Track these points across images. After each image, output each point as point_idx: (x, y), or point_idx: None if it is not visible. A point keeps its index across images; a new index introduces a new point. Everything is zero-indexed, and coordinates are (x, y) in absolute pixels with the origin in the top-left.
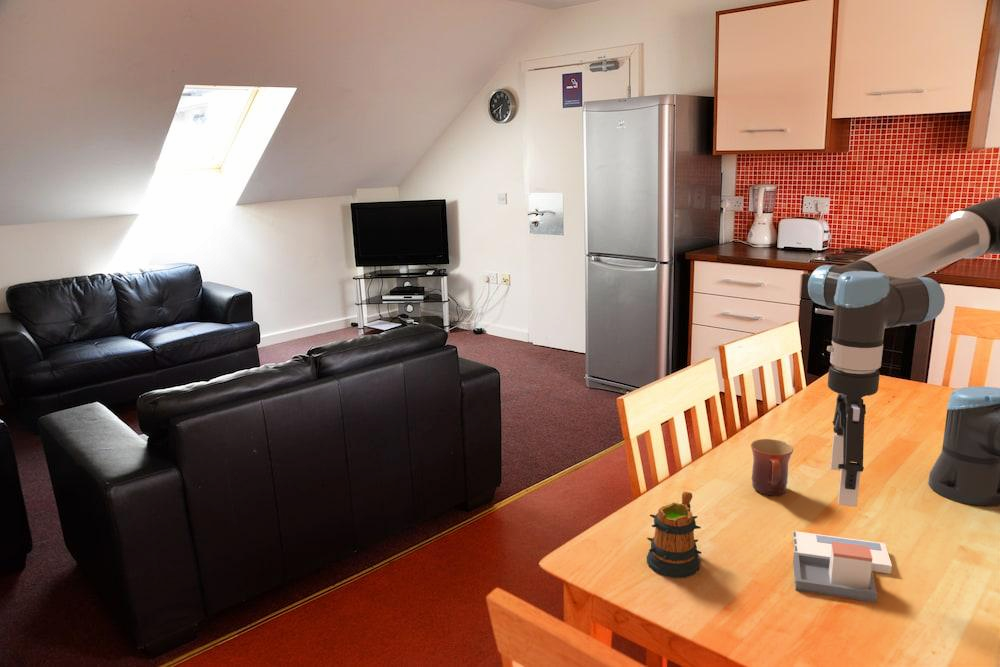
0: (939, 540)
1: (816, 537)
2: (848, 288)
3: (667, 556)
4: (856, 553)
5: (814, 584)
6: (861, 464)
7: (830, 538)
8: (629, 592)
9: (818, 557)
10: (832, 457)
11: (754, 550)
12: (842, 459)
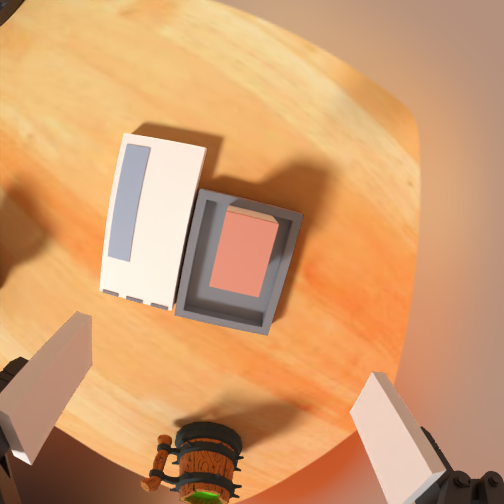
0: (102, 38)
1: (115, 258)
2: None
3: (235, 468)
4: (257, 250)
5: (275, 309)
6: (502, 493)
7: (115, 233)
8: (272, 472)
9: (188, 279)
10: (72, 393)
11: (154, 354)
12: (71, 361)
